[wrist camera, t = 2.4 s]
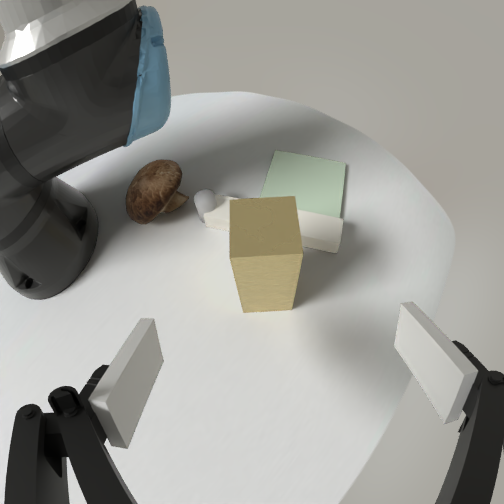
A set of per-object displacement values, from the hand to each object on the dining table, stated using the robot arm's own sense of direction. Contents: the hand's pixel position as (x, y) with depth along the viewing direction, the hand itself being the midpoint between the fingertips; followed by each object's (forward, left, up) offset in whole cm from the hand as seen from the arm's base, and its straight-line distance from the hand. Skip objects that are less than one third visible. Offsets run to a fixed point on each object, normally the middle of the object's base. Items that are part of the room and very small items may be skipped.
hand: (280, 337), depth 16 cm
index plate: (-9, +19, -12) cm, 24 cm away
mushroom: (-21, +7, -12) cm, 25 cm away
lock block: (-5, +6, -12) cm, 14 cm away
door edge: (-9, +12, -12) cm, 19 cm away
